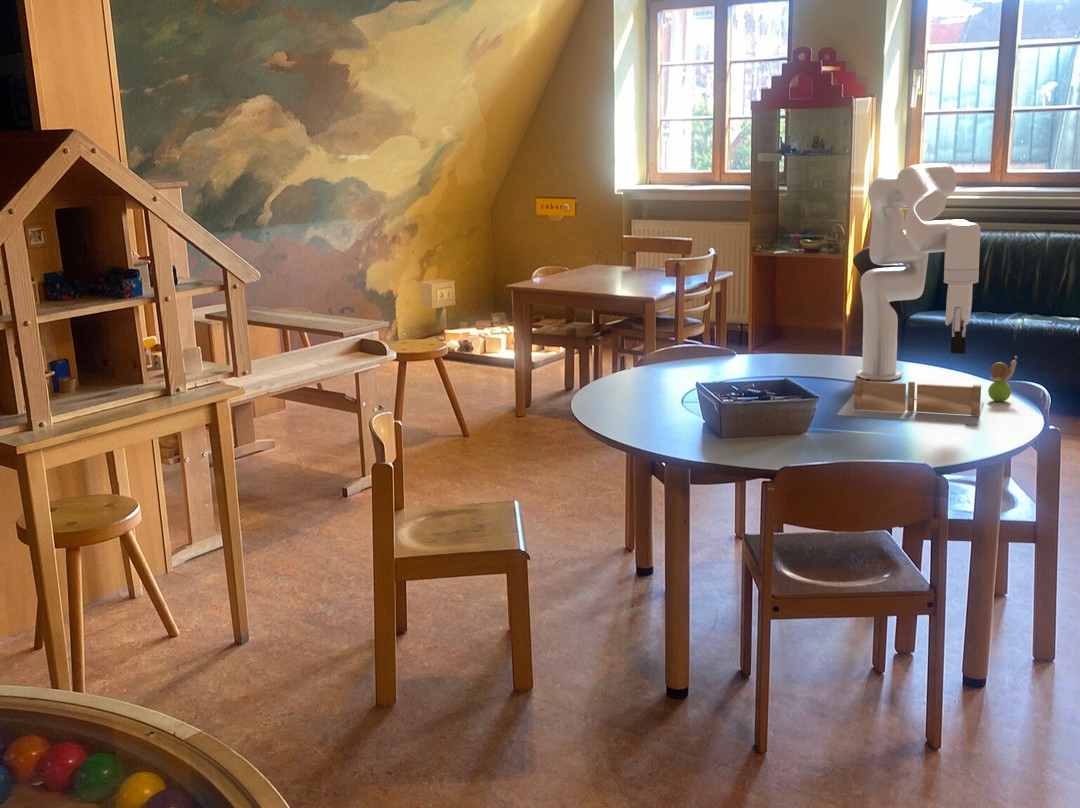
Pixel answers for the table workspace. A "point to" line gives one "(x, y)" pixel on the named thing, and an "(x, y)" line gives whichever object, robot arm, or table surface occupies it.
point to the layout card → (909, 414)
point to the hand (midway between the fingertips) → (958, 352)
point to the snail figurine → (1001, 381)
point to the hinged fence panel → (945, 399)
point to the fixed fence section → (879, 396)
